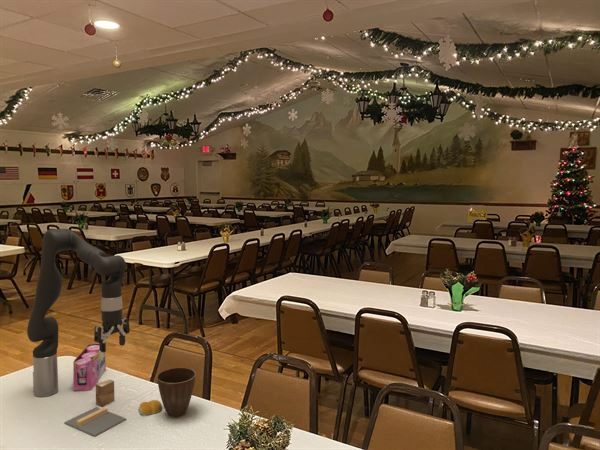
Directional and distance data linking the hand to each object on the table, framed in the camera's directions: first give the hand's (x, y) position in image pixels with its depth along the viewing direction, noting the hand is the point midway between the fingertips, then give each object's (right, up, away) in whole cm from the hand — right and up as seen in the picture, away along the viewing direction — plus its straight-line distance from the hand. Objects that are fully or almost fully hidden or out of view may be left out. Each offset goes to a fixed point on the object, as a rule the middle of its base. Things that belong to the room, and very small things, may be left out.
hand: (112, 348), depth 176 cm
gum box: (-26, -25, +37) cm, 51 cm away
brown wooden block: (-9, -27, +15) cm, 32 cm away
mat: (-6, -28, 0) cm, 29 cm away
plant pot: (+23, -28, +7) cm, 37 cm away
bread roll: (+11, -28, +9) cm, 32 cm away
